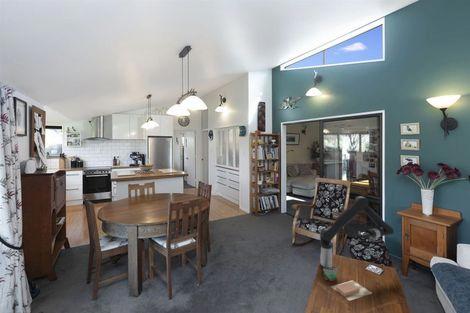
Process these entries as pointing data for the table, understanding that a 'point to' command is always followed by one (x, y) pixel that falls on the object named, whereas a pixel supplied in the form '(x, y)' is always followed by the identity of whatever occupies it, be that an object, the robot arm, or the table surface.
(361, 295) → the board
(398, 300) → the table surface
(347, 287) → the tile
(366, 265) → the table surface
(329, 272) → the food container
